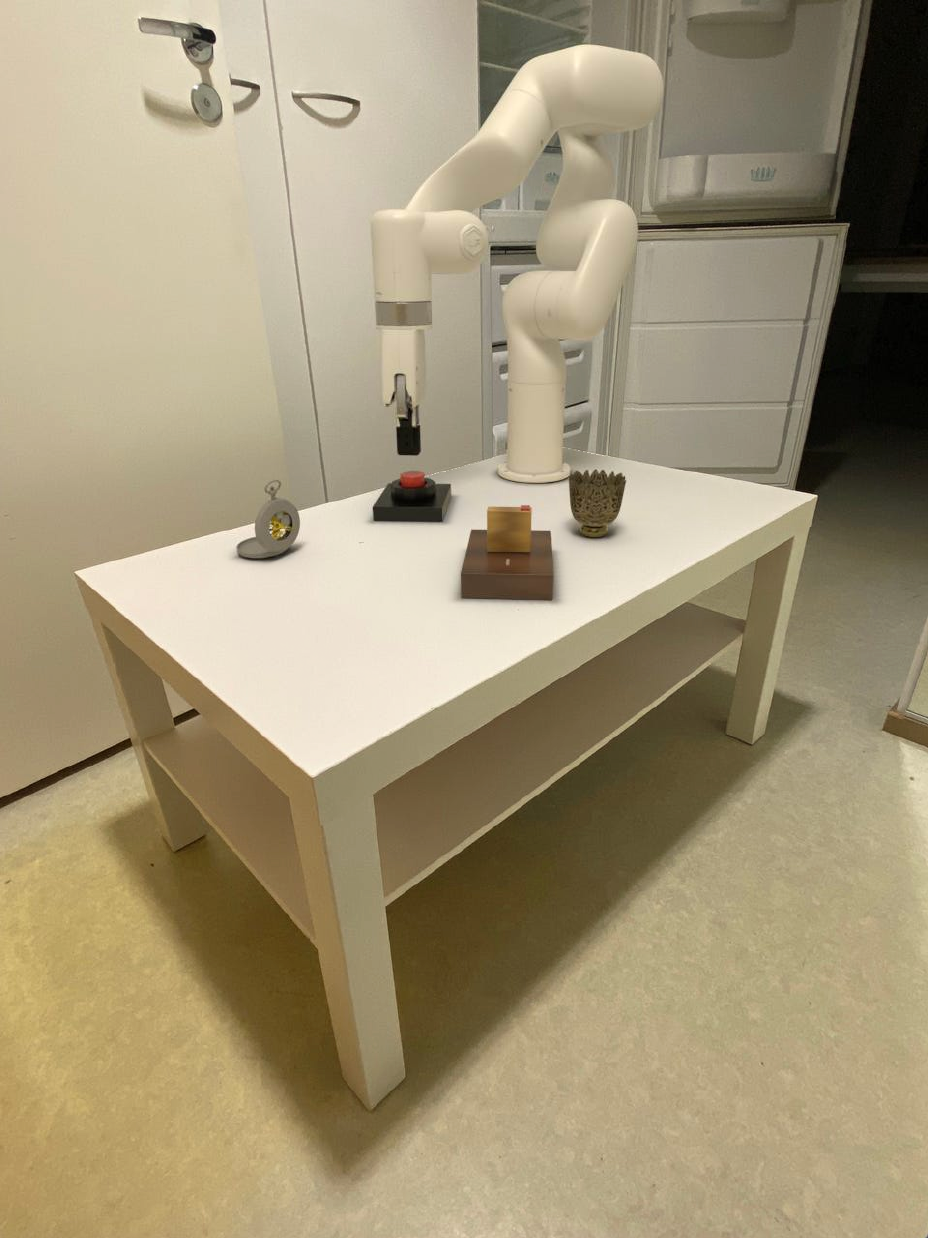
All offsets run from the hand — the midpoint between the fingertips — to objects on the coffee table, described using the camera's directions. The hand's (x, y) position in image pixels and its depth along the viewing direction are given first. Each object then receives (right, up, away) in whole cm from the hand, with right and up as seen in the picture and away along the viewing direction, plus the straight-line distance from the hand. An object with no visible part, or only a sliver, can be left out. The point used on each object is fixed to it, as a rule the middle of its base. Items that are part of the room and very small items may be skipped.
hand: (409, 453), depth 102 cm
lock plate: (+13, -19, -18) cm, 29 cm away
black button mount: (0, -7, +4) cm, 8 cm away
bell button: (0, -4, +2) cm, 5 cm away
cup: (+25, -13, -7) cm, 29 cm away
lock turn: (+13, -16, -20) cm, 29 cm away
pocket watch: (-17, -16, -11) cm, 26 cm away
